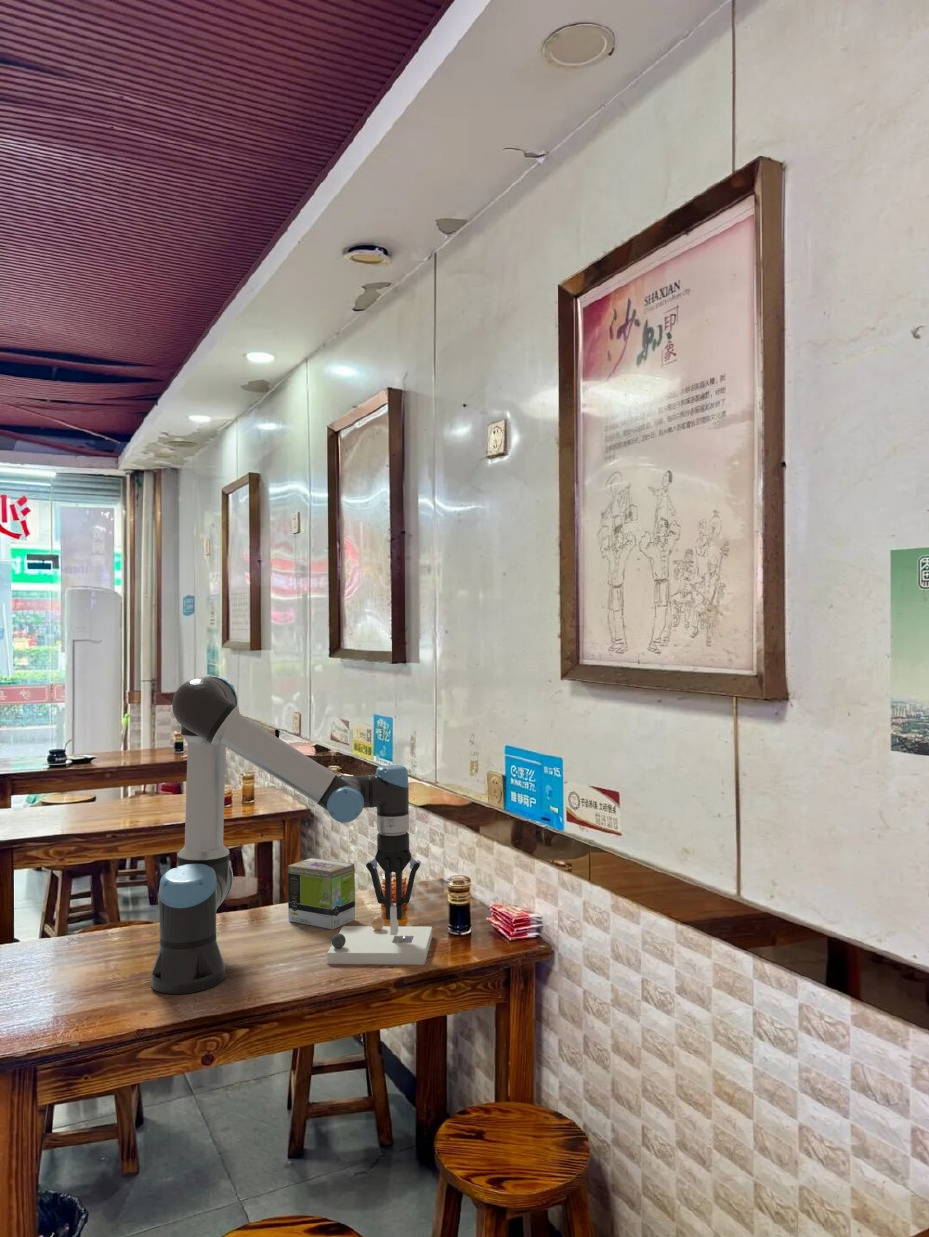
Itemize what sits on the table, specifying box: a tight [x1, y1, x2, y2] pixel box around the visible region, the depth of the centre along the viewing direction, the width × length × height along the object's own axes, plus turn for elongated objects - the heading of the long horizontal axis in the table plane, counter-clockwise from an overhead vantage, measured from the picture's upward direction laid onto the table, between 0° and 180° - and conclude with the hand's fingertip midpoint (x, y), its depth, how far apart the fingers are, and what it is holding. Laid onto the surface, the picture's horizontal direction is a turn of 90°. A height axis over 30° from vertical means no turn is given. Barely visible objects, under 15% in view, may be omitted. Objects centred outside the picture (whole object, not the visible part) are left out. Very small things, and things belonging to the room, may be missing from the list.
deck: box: [326, 925, 433, 966], centre depth 202 cm, size 22×18×2 cm
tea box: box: [287, 857, 356, 930], centre depth 224 cm, size 15×10×15 cm
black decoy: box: [331, 933, 346, 948], centre depth 197 cm, size 3×3×3 cm
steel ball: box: [399, 936, 412, 943], centre depth 202 cm, size 3×3×3 cm
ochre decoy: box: [370, 915, 385, 930], centre depth 209 cm, size 3×3×3 cm
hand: (394, 933), depth 202 cm, fingers closed
